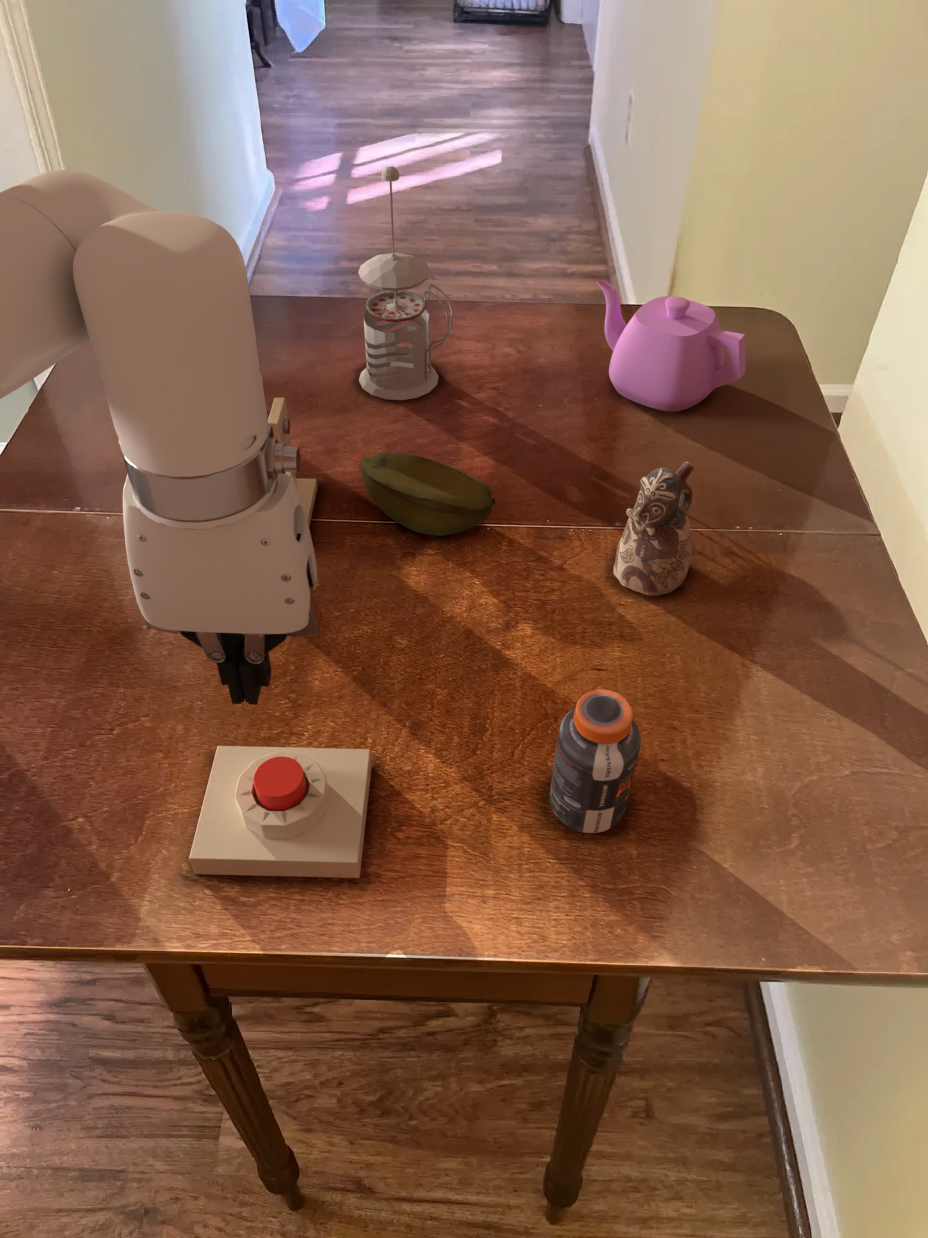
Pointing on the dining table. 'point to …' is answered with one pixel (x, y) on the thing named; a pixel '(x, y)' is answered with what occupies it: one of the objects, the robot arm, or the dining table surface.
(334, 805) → the control block
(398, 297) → the french press
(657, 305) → the teapot
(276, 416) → the bracket
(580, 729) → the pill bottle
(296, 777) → the button
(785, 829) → the dining table surface
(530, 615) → the dining table surface
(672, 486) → the figurine
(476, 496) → the fruit
